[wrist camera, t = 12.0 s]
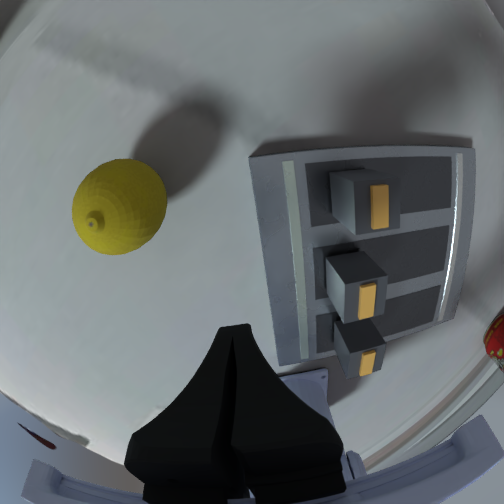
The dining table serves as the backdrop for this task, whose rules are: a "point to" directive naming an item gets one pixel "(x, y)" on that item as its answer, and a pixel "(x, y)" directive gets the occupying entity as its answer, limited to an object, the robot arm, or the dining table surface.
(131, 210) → the lemon
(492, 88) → the dining table surface
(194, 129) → the dining table surface
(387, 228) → the breaker
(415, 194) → the panel
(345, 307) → the breaker
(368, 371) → the block
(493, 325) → the soda can
